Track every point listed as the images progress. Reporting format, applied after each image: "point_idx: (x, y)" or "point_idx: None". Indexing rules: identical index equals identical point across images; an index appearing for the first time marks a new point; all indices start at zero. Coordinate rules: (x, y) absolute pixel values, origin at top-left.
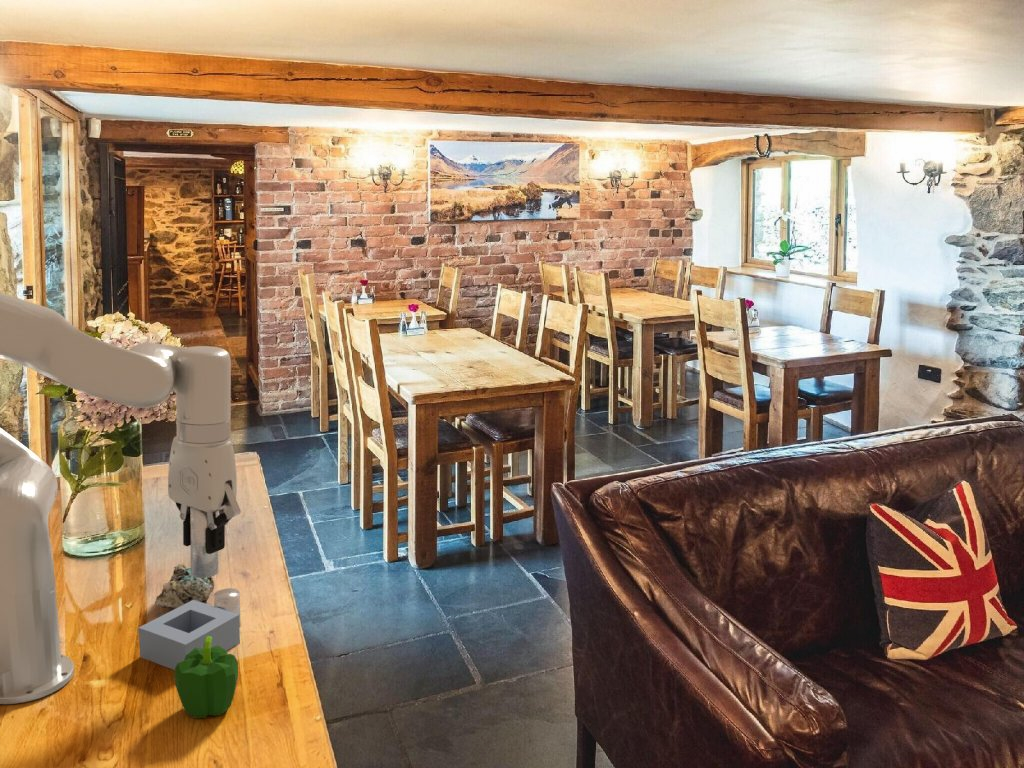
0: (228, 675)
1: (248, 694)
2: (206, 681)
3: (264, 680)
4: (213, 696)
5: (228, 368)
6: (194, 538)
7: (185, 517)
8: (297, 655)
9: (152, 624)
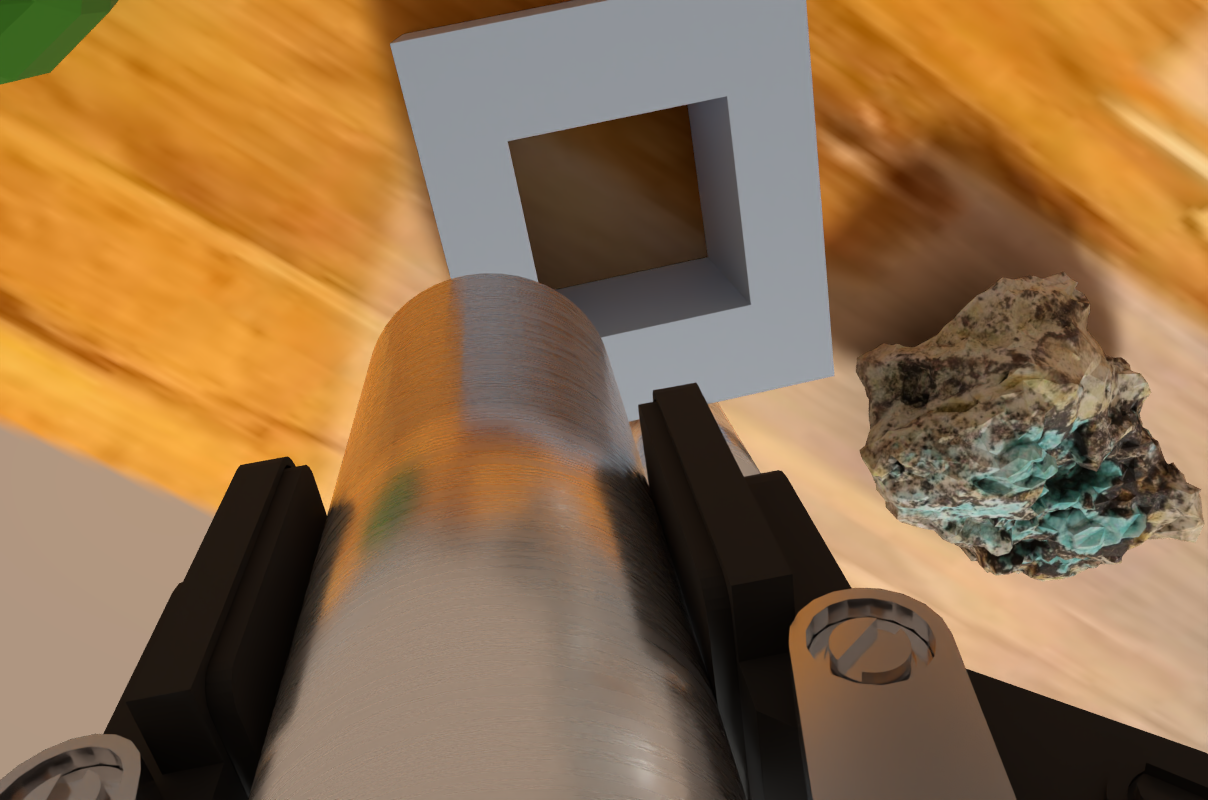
0: None
1: (7, 143)
2: None
3: (87, 273)
4: None
5: None
6: (445, 478)
7: (791, 653)
8: (202, 496)
9: (768, 47)
